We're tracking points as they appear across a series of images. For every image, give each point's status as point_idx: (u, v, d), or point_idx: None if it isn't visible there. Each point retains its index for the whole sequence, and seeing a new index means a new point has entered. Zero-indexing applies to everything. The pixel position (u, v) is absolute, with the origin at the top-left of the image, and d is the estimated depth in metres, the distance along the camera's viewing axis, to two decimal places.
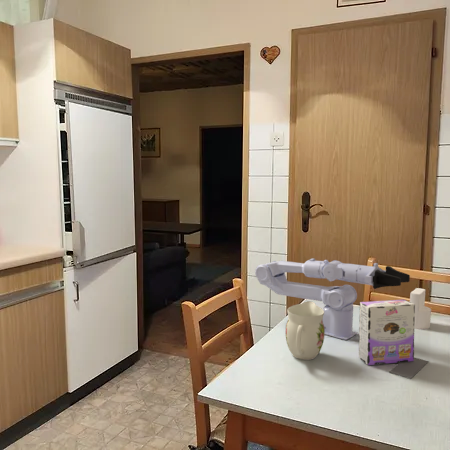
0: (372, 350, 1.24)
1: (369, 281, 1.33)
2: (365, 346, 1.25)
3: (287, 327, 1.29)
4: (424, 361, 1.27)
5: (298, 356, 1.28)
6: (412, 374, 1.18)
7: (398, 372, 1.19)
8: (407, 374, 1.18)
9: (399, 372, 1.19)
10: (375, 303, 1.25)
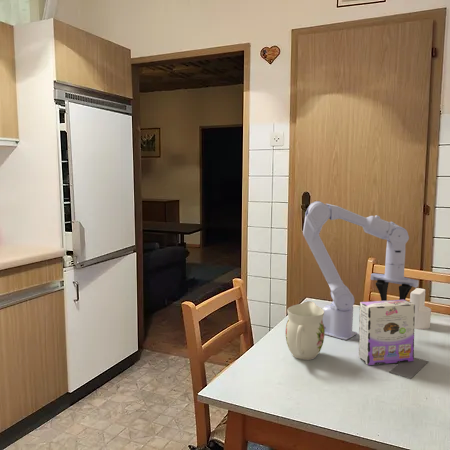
0: (372, 350, 1.24)
1: (416, 285, 1.39)
2: (365, 346, 1.25)
3: (287, 327, 1.29)
4: (424, 361, 1.27)
5: (298, 356, 1.28)
6: (412, 374, 1.18)
7: (398, 372, 1.19)
8: (407, 374, 1.18)
9: (399, 372, 1.19)
10: (375, 303, 1.25)
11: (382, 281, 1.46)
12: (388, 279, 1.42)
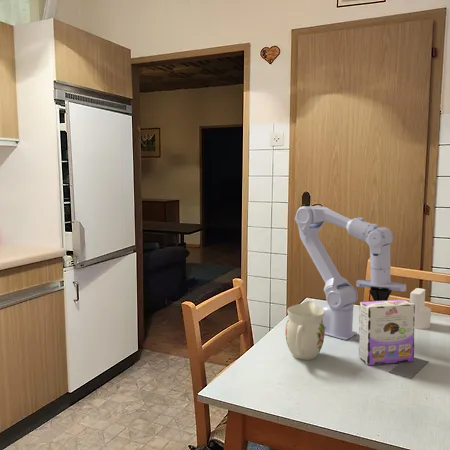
0: (372, 350, 1.24)
1: (404, 289, 1.32)
2: (365, 346, 1.25)
3: (287, 327, 1.29)
4: (424, 361, 1.27)
5: (298, 356, 1.28)
6: (412, 374, 1.18)
7: (398, 372, 1.19)
8: (407, 374, 1.18)
9: (399, 372, 1.19)
10: (375, 303, 1.25)
11: (368, 287, 1.38)
12: (374, 285, 1.35)
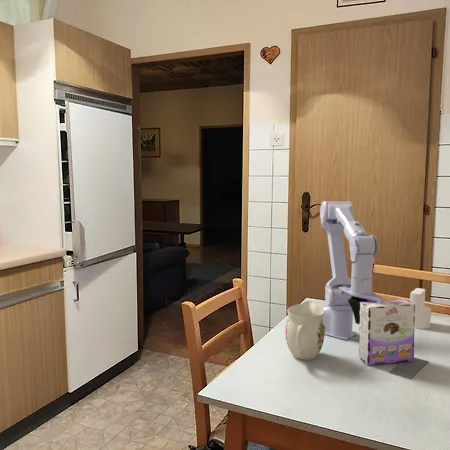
0: (372, 350, 1.24)
1: (381, 303, 1.25)
2: (365, 346, 1.25)
3: (287, 327, 1.29)
4: (424, 361, 1.27)
5: (298, 356, 1.28)
6: (412, 374, 1.18)
7: (398, 372, 1.19)
8: (407, 374, 1.18)
9: (399, 372, 1.19)
10: (375, 303, 1.25)
11: (349, 296, 1.33)
12: (352, 294, 1.30)
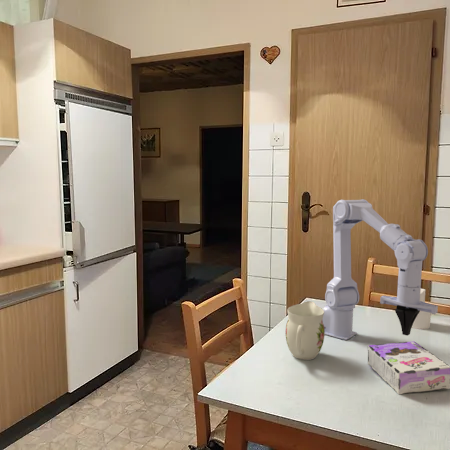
0: None
1: (435, 312, 1.17)
2: (376, 368, 1.19)
3: (287, 327, 1.29)
4: None
5: (298, 356, 1.28)
6: None
7: None
8: None
9: None
10: (412, 383, 1.08)
11: (394, 305, 1.24)
12: (401, 304, 1.21)
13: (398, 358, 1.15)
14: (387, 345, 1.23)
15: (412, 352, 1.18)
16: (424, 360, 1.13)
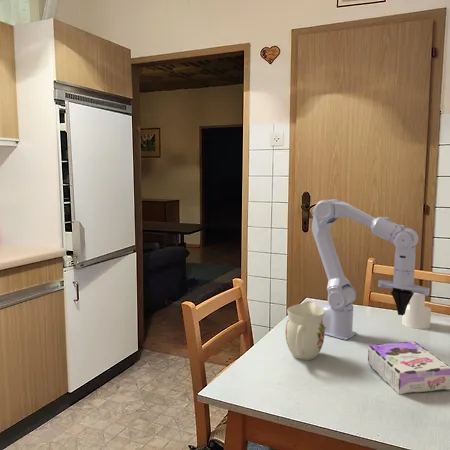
0: None
1: (427, 293, 1.30)
2: (376, 367, 1.19)
3: (287, 327, 1.29)
4: None
5: (298, 356, 1.28)
6: None
7: None
8: None
9: None
10: (412, 383, 1.08)
11: None
12: (397, 286, 1.33)
13: (398, 358, 1.15)
14: (387, 345, 1.23)
15: (412, 352, 1.18)
16: (424, 361, 1.13)
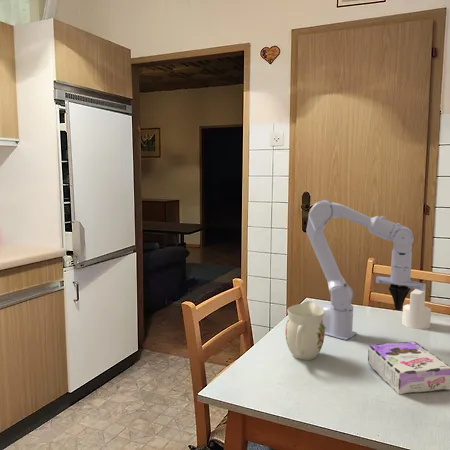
0: None
1: (424, 289, 1.35)
2: (376, 367, 1.19)
3: (287, 327, 1.29)
4: None
5: (298, 356, 1.28)
6: None
7: None
8: None
9: None
10: (412, 383, 1.08)
11: (388, 284, 1.42)
12: (394, 282, 1.38)
13: (398, 358, 1.15)
14: (387, 345, 1.23)
15: (412, 352, 1.18)
16: (424, 361, 1.13)
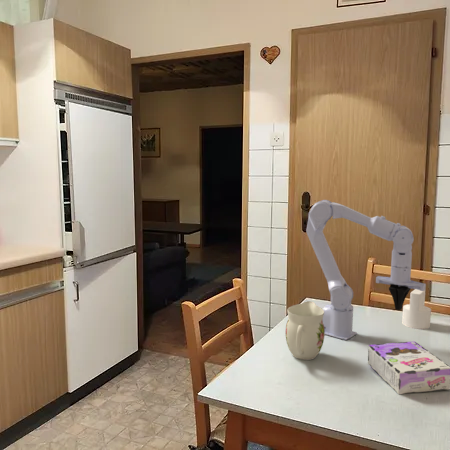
0: None
1: (424, 289, 1.35)
2: (376, 367, 1.19)
3: (287, 327, 1.29)
4: None
5: (298, 356, 1.28)
6: None
7: None
8: None
9: None
10: (412, 383, 1.08)
11: (388, 284, 1.42)
12: (394, 282, 1.38)
13: (398, 358, 1.15)
14: (387, 345, 1.23)
15: (412, 352, 1.18)
16: (424, 361, 1.13)
